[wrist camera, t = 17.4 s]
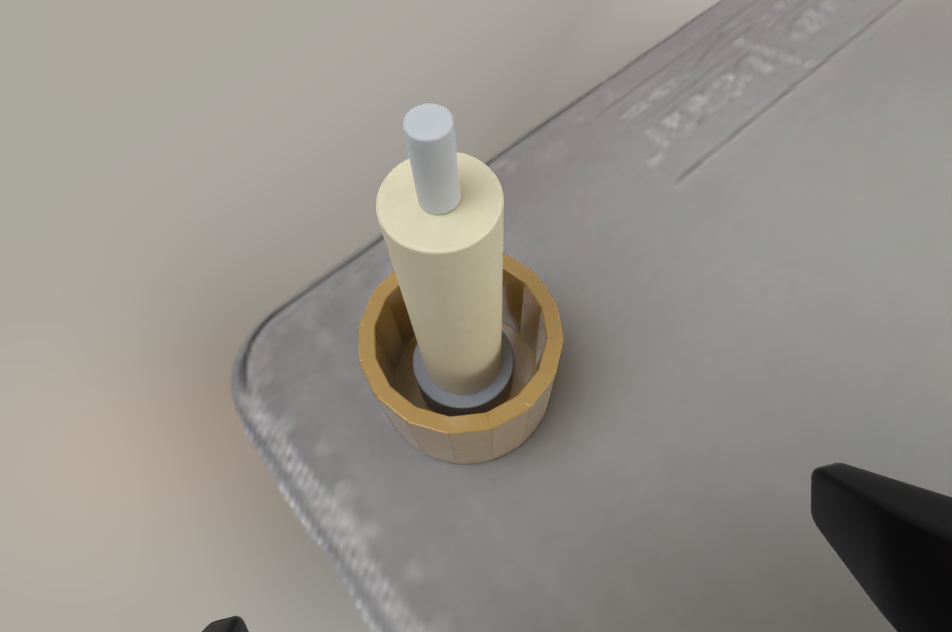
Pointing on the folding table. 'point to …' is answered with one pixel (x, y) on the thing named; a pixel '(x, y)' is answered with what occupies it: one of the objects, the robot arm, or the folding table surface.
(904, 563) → the robot arm
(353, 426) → the folding table surface
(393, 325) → the holder
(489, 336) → the kitchen roll stand
